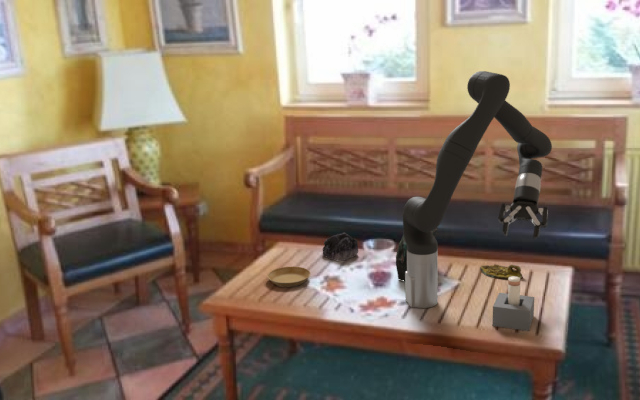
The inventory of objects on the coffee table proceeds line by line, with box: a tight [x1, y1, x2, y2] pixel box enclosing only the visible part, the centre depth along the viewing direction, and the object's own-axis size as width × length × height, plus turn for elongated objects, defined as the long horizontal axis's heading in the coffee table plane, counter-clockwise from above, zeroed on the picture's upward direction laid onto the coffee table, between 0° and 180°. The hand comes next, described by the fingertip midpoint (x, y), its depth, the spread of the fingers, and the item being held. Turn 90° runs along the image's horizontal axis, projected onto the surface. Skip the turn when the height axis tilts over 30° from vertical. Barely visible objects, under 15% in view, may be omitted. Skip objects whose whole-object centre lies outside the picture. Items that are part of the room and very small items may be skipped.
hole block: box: [491, 292, 535, 332], centre depth 190 cm, size 10×10×6 cm
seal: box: [479, 263, 523, 281], centre depth 224 cm, size 9×5×15 cm
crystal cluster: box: [322, 231, 359, 262], centre depth 248 cm, size 13×14×10 cm
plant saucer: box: [267, 266, 311, 288], centre depth 227 cm, size 15×15×3 cm
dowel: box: [507, 276, 521, 306], centre depth 189 cm, size 3×3×12 cm
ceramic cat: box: [395, 227, 439, 281], centre depth 226 cm, size 20×6×20 cm, turn 136°
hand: (520, 236), depth 201 cm, fingers open, 8 cm apart
